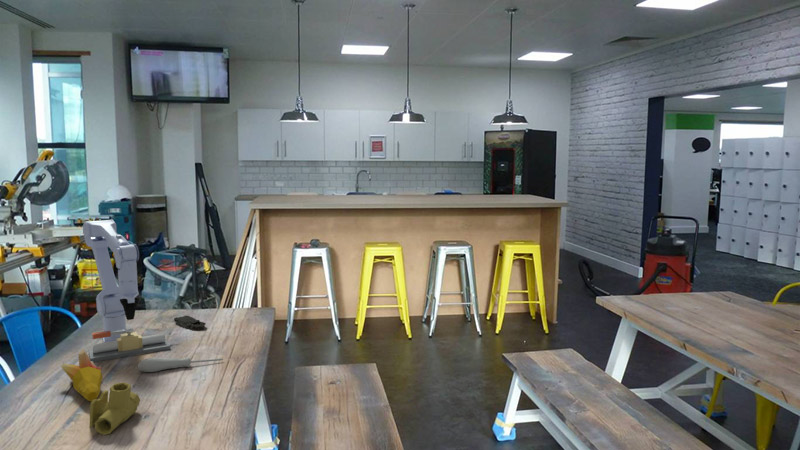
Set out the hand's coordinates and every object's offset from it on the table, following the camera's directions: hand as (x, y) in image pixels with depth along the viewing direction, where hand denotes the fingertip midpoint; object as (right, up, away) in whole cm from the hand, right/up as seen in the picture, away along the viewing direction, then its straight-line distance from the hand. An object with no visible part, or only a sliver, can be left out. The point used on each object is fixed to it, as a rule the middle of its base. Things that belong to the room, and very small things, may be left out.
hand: (130, 319), depth 187 cm
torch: (+4, -15, -34) cm, 37 cm away
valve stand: (+1, -11, -1) cm, 11 cm away
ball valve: (+20, -17, -51) cm, 58 cm away
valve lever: (-3, -5, -5) cm, 7 cm away
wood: (+9, -8, +29) cm, 31 cm away
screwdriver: (+24, -13, -15) cm, 31 cm away
